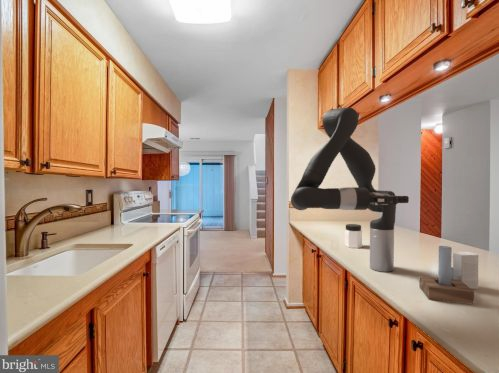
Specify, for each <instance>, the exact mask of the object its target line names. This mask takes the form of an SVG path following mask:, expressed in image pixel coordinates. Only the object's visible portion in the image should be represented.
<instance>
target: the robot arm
mask: <svg viewBox="0 0 499 373" xmlns="http://www.w3.org/2000/svg"><path fill="white" fill-rule="evenodd" d="M321 119H322V120H321V121H322V127H323V129H324V131H325V133H326V135H327V136H328V138H329V140H328V141H327V142H326V143H325V144H324V145H322V147H321V148H319V150H317V151H316V152H315V154H313V156H312V157H311V158H310V160H309V162H308V163H307V166H306V168H305V170H304V171H303V174H302V177H301V178H300V181H299V182H298V184H297V186H296V187H295V190H294V191H293V193H292V194H291V197H290V203H291V205H292V207H293V208H294V209H295V210H298V211H304V210H307V209H310V208H313V209H314V208H315V209H316V208H321V209H322V210H323V209H325V210H342V211H365V210H369V211H371V212H376V213H382V214H381V217H380V218H377V219H373V220H371V221H370V222H369V268H370V269H372V270H374V271H377V272H385V273H387V272H388V273H389V272H393V271H394V268H395V267H394V266H395V265H394V264H395V263H394V262H395V223H396V211H397V205H398V204H408V203H409V199H410V198H409V196H408V195H396V194H395V192H394V191H392V190H378V189H375V188H374V185H373V180H374V177H375V174H376V164H375V162H374V160H373V158H372V156H371V155H370V153H369V152H368V151H367V149H366V148H364V147H363V146H362V145H360V144H359V143H358V142H357V141H355V140H354V139H352V138H351V137H352V135H354V132H355V131H356V129H357V127H358V124H359V114H358V112H357V110H356V109H355V108H353V107H340V108H334V109H329V110H327V111H326V112H324V114H323V116H322V118H321ZM339 154H340V156H341V158H342V159H343V161H344V162H345V165H346V166H347V168H348V170H349V173H350V174H351V176H352V177H353V179H354V181H355V183H356V185H357V186H358V187H357V186H355V187H354V186H353V187H349V186H348V187H337V188H336V187H335V188H334V187H332V188H329V187H328V188H322V187H321V188H320V186H321V185H322V183H323V182H324V180H325V177H326V175H327V174H328V171H329V170H330V168H331V166H332V165H333V162H334V161H335V159H336V157H337V156H338V155H339Z"/></svg>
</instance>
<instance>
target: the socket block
mask: <svg viewBox="0 0 499 373" xmlns="http://www.w3.org/2000/svg"><path fill="white" fill-rule="evenodd" d="M418 283H419V284H418V285H419V288H420V290H421V292H422V293H423V294H424V295H425V296H426V297H427V299H428V300H431V301H440V302H448V301H450V302H449V303H457V302H458V303H460V304H469V305H474V304H475V290H473V289H471V288H469V287H468V286H467V285H466V284H465V283H463V282H462V281H461V280H459V279H451V286H443V285H438V277H436V276H435V277H434V276H422V275H419V282H418Z"/></svg>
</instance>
